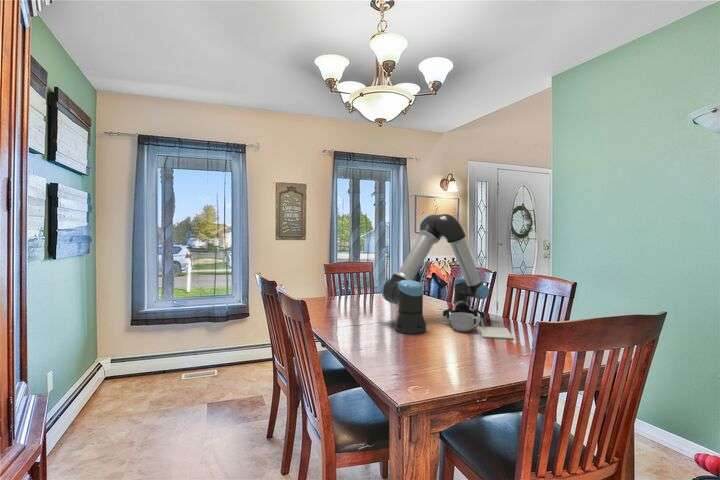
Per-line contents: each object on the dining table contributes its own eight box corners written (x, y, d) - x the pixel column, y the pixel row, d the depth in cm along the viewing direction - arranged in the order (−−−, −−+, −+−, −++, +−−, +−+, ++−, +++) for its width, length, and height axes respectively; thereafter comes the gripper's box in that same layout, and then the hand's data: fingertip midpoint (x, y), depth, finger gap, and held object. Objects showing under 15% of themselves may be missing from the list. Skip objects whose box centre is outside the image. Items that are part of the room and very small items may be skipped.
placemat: (482, 338, 166) (482, 336, 166) (478, 327, 185) (478, 326, 185) (513, 339, 164) (513, 338, 164) (506, 328, 182) (506, 327, 182)
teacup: (446, 329, 181) (446, 313, 181) (461, 326, 187) (461, 310, 187) (469, 336, 170) (469, 318, 169) (484, 332, 176) (484, 315, 175)
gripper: (486, 317, 198) (491, 326, 178) (438, 315, 204) (438, 324, 183) (486, 303, 198) (491, 311, 178) (438, 301, 204) (438, 309, 183)
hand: (464, 317), depth 180 cm, fingers open, 13 cm apart
